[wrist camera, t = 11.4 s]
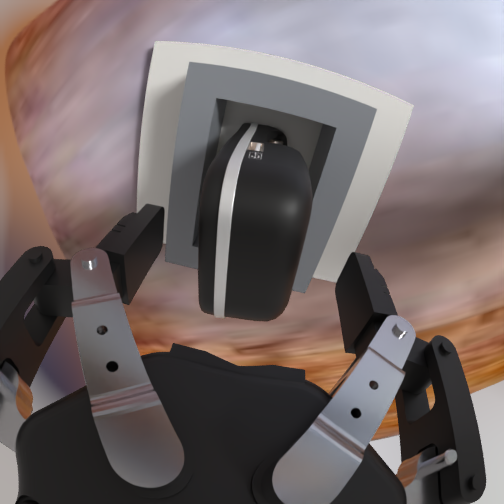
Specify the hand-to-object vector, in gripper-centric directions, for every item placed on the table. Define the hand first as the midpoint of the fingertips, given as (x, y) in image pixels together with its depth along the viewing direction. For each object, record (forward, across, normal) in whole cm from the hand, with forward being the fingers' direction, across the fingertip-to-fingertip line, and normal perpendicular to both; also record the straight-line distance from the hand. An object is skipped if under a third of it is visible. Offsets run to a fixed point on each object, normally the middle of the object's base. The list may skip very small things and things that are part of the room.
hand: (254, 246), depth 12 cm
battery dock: (+10, 0, 0) cm, 10 cm away
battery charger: (+9, 0, 0) cm, 9 cm away
